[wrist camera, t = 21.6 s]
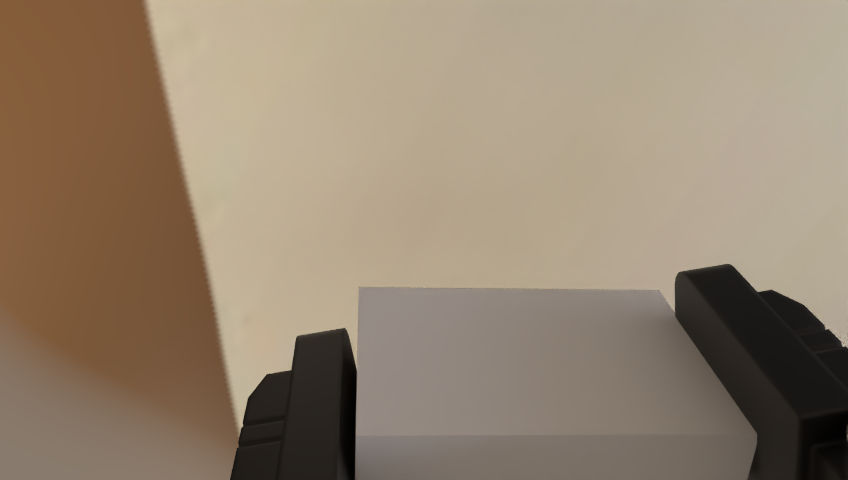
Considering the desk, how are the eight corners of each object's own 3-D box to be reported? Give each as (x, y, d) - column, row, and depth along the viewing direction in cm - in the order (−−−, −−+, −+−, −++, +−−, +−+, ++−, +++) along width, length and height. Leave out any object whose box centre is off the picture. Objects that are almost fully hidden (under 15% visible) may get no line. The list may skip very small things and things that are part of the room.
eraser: (647, 354, 13) (739, 513, 10) (357, 353, 13) (353, 517, 10) (659, 288, 13) (761, 433, 9) (358, 285, 12) (354, 434, 9)
